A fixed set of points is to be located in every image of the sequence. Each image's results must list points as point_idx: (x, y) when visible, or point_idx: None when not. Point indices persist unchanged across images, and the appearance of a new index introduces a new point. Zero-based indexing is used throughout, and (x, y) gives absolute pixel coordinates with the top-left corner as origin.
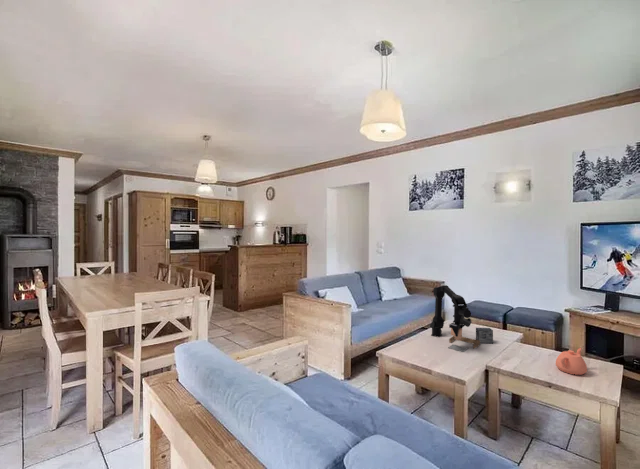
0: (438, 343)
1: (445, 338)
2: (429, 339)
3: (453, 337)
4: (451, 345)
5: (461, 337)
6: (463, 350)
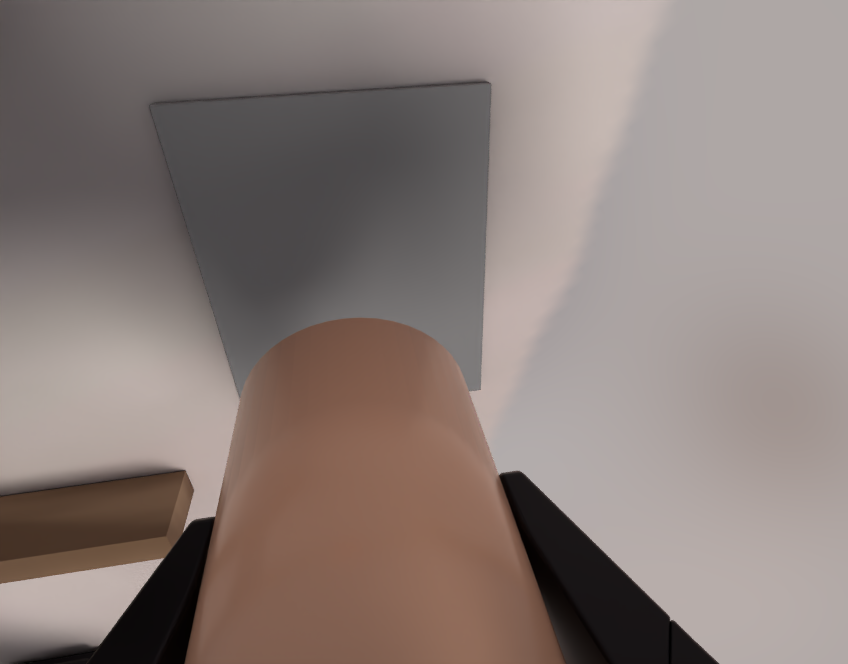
0: None
1: (71, 592)
2: None
3: (11, 555)
4: None
5: (367, 374)
6: (416, 122)
